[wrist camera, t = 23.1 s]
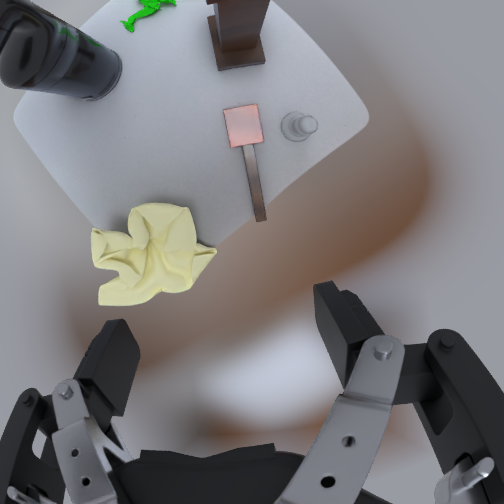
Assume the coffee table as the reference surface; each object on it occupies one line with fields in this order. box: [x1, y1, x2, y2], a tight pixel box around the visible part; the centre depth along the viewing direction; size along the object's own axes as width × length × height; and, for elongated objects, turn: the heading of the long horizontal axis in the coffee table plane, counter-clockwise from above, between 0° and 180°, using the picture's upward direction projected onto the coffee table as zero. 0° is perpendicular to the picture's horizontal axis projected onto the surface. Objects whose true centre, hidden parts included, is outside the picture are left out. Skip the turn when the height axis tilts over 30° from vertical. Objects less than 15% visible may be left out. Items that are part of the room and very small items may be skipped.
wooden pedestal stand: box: [206, 0, 270, 71], centre depth 21 cm, size 10×7×24 cm
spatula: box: [223, 104, 267, 222], centre depth 39 cm, size 18×5×1 cm, turn 10°
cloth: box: [91, 203, 218, 306], centre depth 41 cm, size 22×19×6 cm
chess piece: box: [281, 112, 318, 142], centre depth 34 cm, size 5×5×8 cm
